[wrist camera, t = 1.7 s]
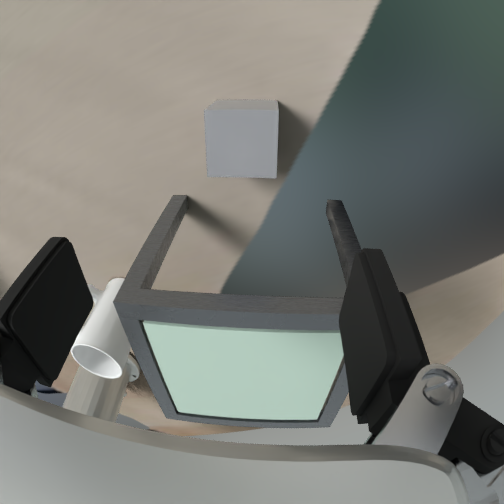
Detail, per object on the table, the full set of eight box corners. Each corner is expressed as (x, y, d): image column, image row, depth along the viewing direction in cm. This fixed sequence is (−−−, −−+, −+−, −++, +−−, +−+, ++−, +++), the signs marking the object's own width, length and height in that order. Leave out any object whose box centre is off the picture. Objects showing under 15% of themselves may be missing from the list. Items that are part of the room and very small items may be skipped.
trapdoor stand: (318, 320, 42) (329, 427, 29) (191, 315, 43) (166, 418, 30) (341, 200, 31) (384, 314, 18) (173, 195, 32) (112, 301, 19)
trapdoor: (316, 411, 28) (317, 419, 28) (180, 403, 29) (178, 411, 28) (349, 321, 20) (351, 333, 20) (146, 312, 21) (143, 322, 20)
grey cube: (275, 155, 29) (276, 178, 24) (218, 154, 29) (207, 177, 25) (277, 100, 26) (278, 110, 21) (216, 99, 26) (204, 110, 21)
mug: (158, 298, 41) (132, 370, 31) (133, 317, 44) (107, 383, 34) (101, 251, 37) (58, 318, 27) (81, 276, 40) (43, 338, 30)
